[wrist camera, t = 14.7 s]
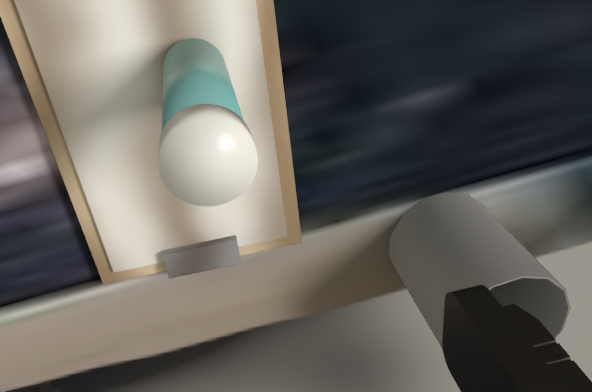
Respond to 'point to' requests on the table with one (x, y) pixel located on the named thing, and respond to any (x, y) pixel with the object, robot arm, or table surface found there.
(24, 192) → the table surface
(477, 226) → the cup
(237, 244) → the clipboard
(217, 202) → the marker
